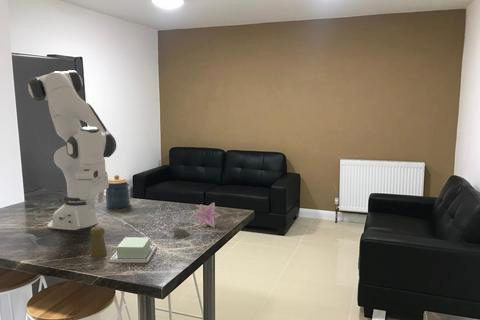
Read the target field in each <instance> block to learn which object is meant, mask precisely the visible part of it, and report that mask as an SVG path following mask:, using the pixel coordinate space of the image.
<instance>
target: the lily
mask: <svg viewBox="0 0 480 320" xmlns="http://www.w3.org/2000/svg"><path fill="white" fill-rule="evenodd" d="M215 205H216V204H215V202H211V203H210V204H209V205H208V206H205V205H203V204H202V203H201V204H200V206H199V209H200V210H198V211H196V212H193V213H192V214H191V216H192V217H194V218H196V219H199V220H200V221H199V227H203V226H204V224H207V225H209V226H210V227H212V228H215V218H217V217H220V216H221V214H220V213H218V212H215Z"/></svg>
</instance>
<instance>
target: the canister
mask: <svg viewBox="0 0 480 320" xmlns="http://www.w3.org/2000/svg"><path fill="white" fill-rule="evenodd" d="M128 181H129V180H128V179H126V178H124V177H120V175H119V174H115V175H114V177H111V178H108V182H109V186H108V188H107V189H105V191H104V194H105V205H106V207H107V208H109V209H112V210H114V209H123V208H128V207H129V206H130V205H131V199H130V198H131V197H130V188H129V186H130V183H128Z"/></svg>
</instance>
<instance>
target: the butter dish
mask: <svg viewBox="0 0 480 320" xmlns="http://www.w3.org/2000/svg"><path fill="white" fill-rule="evenodd" d="M157 249H158V246H157V245H156V244H151V238H150V237H140V236H139V237H138V236H137V237H133V236H132V237H127V236H125V237H124V238H123V239H122V240H121V242H119V244H118V245H117V246H116V252H115V253H114V254H113V255H112V256H111V258H110V259H109V261H110V263H130V264H131V263H133V264H134V263H135V264H136V263H138V264H139V263H142V264H143V263H144V264H145V263H147V264H148V263H149V261H150V259H151V258H152V256H153V255H154V253H155V251H156V250H157Z"/></svg>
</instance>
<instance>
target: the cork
mask: <svg viewBox="0 0 480 320" xmlns="http://www.w3.org/2000/svg"><path fill="white" fill-rule="evenodd" d="M89 232H90V233H89V234H90V236H91V244H90V245H91V247H90V257H91V258H93V259H94V258H95V259H97V258H98V259H99V258H102V257H106V256H107V255H108V252H107V247H106V241H105V238H104V234H105V228H104V227H102V226H93V227H91V228H90V231H89Z"/></svg>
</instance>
